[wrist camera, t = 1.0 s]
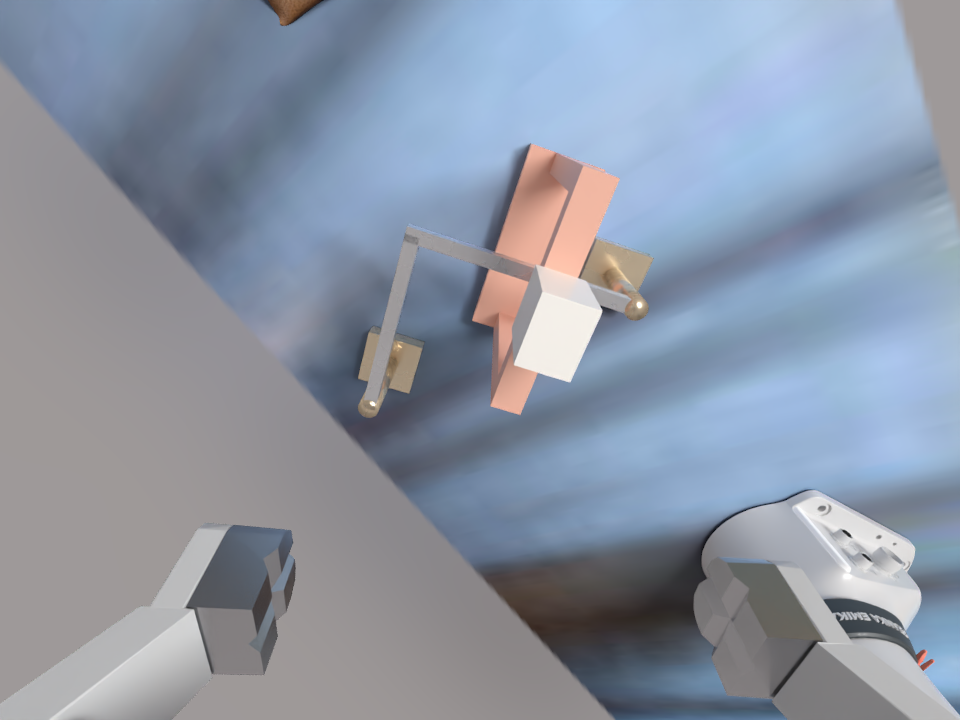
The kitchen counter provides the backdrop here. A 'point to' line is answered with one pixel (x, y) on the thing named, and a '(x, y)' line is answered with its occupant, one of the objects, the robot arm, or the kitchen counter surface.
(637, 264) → the bent towel rail
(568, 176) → the pink frame with handle
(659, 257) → the kitchen counter surface
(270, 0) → the sunglasses case
